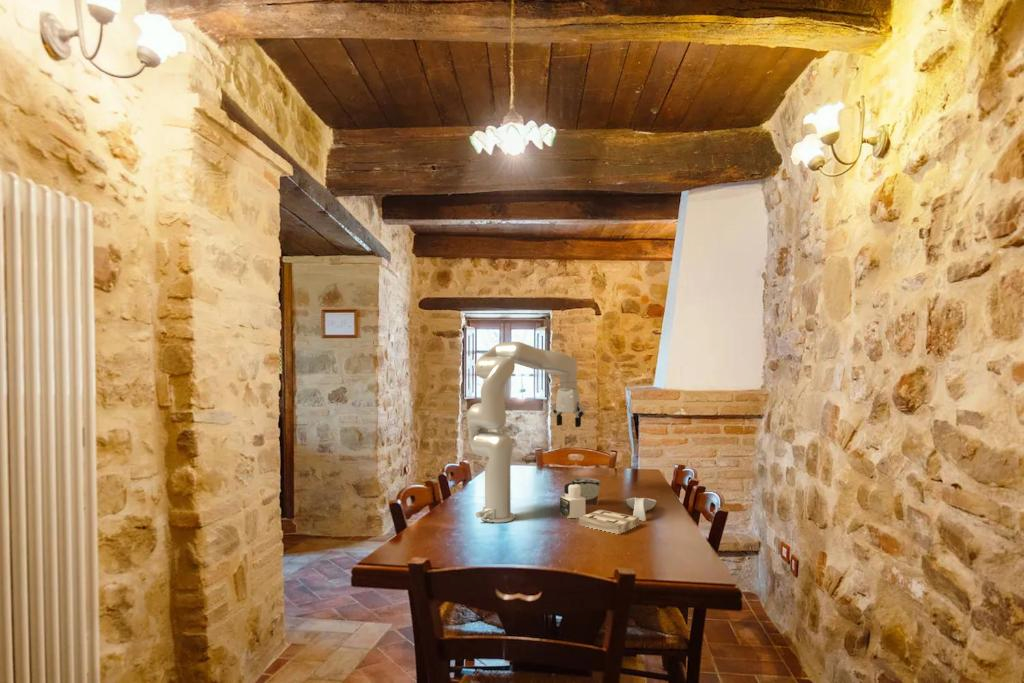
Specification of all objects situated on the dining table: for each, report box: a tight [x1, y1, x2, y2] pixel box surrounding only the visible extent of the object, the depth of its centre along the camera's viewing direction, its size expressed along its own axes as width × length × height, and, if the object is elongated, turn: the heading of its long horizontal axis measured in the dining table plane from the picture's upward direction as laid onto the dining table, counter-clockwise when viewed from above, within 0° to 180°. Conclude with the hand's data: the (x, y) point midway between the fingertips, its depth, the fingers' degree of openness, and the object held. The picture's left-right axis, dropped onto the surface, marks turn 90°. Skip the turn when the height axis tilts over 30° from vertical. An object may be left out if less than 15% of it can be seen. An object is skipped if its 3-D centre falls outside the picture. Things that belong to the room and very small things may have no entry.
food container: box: [570, 477, 602, 506], centre depth 225 cm, size 12×6×10 cm, turn 84°
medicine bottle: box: [559, 482, 587, 519], centre depth 206 cm, size 7×7×12 cm
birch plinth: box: [578, 509, 640, 535], centre depth 193 cm, size 14×16×3 cm
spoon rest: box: [625, 497, 657, 522], centre depth 211 cm, size 24×12×7 cm, turn 166°
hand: (568, 426), depth 236 cm, fingers open, 9 cm apart
